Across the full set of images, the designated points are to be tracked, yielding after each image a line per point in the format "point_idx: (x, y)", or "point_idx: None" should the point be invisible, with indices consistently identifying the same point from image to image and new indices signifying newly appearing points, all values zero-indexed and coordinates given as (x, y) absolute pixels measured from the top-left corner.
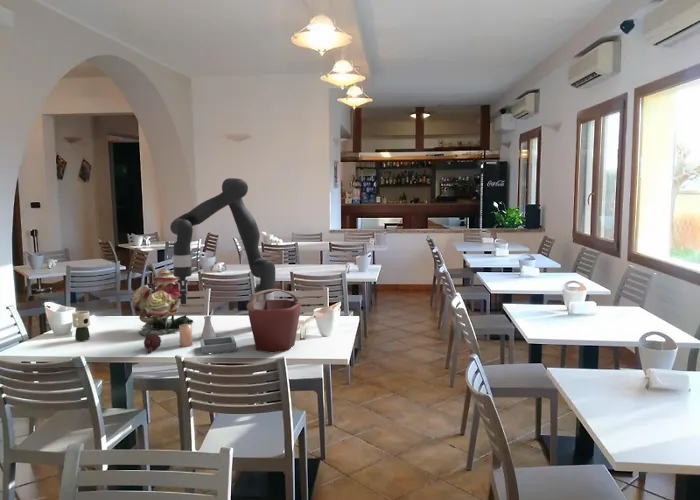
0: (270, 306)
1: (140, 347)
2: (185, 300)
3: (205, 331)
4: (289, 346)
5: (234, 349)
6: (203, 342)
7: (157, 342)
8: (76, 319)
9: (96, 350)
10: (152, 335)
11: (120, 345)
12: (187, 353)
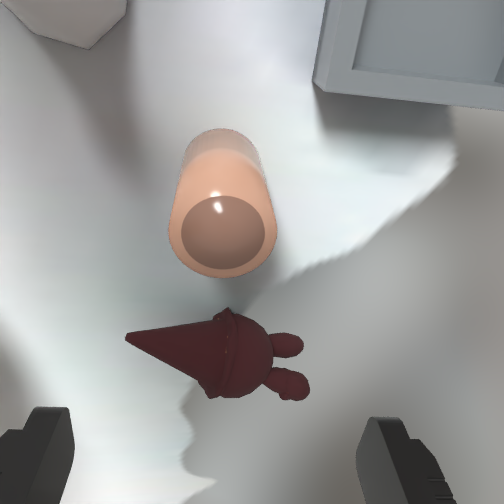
0: None
1: (167, 366)
2: (416, 470)
3: (85, 1)
4: None
5: None
6: (433, 84)
7: (261, 336)
8: None
9: (149, 477)
10: (238, 382)
11: (101, 425)
12: (402, 180)
